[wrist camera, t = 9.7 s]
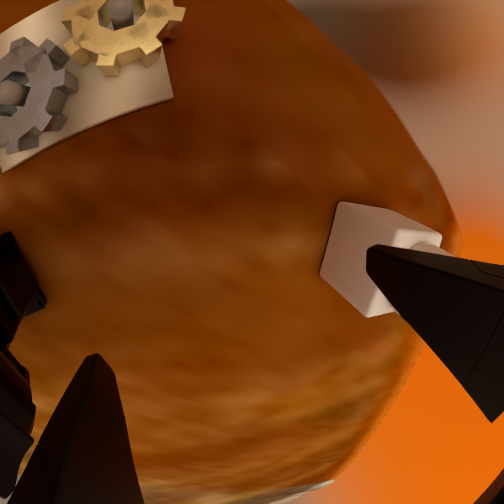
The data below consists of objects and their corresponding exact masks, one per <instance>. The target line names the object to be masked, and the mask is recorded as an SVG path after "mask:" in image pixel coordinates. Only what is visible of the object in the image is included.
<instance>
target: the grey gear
mask: <svg viewBox="0 0 504 504" xmlns="http://www.w3.org/2000/svg"><path fill="white" fill-rule="evenodd" d="M69 59H70V57H69V56H68V55H67V54H66V53H65V52H64V51H62V50H61V49H60V48H59V47H58V46H57V45H56V44H55V43H53V42H52V41H51V40H49V39H48V38H46V40H45V41H44V42H43V43H42V44H41V45H40V46H39V47H38V46H36V45H35V44H34V43H32V42H31V41H30V40H28V39H27V38H25V37H22V38H20V39H17V40H15V41H12V42H11V44H10V50H9V52H8V53H7V54H6V55H5V56H4V57H3V58H1V59H0V83H1V82H2V81H4V80H9V81H12V82H15V83H19V84H22V85H25V84H26V83H28V82H30V85H31V88H30V91H29V93H28V96H27V99H26V102H25V105H24V106H23V107H22V108H21V109H19V110H17V108H16V106H13V105H4V104H0V148H3V147H5V151H6V156H7V155H10V154H14V153H18V152H22V151H27V150H30V149H33V148H37V147H39V144H38V137H39V136H40V135H41V134H43V133H44V132H53V131H60V130H61V128H62V127H63V125H64V124H65V123H66V121H67V120H68V118H67V117H66V116H64V115H63V114H62V111H63V108H64V105H65V103H66V100H67V97H68V95H69V94H72V93H77V92H78V78H77V77H76V76H75V75H73V74H72V73H71V72H69V71H68V70H67V69H65V68H64V65H65V64H66V62H67V61H68V60H69Z"/></svg>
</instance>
